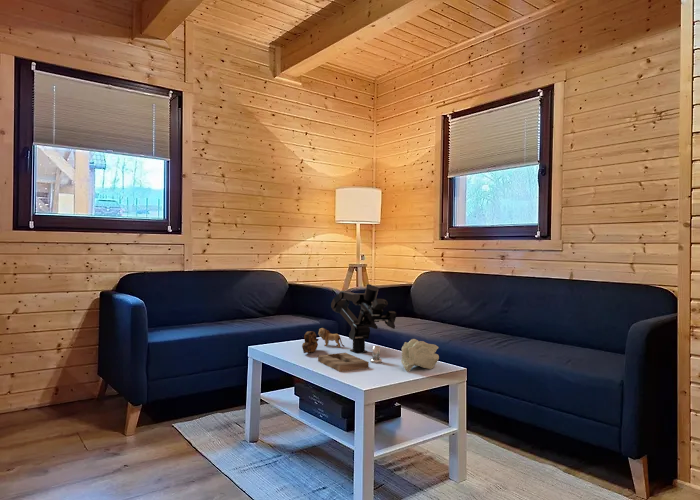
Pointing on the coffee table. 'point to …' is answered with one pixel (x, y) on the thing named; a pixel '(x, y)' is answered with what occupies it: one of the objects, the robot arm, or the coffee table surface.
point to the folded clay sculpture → (419, 354)
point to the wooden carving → (310, 342)
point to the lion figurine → (329, 337)
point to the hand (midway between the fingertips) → (385, 328)
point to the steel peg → (376, 355)
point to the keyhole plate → (343, 362)
